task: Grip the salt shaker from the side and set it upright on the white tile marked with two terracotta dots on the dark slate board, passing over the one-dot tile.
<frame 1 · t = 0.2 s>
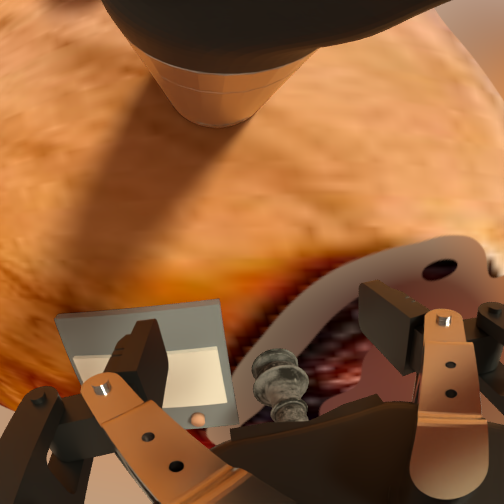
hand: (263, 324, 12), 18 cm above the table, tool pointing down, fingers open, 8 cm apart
salt shaker: (274, 366, 34), on the table
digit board: (150, 374, 32), on the table
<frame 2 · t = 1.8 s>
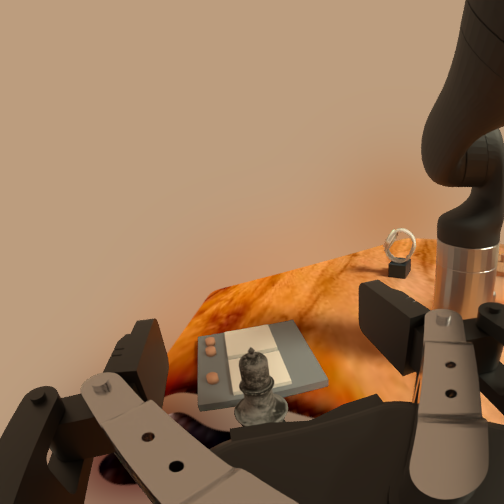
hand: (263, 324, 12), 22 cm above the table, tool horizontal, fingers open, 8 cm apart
salt shaker: (264, 430, 32), on the table
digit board: (254, 363, 45), on the table
lidded jar: (497, 299, 48), on the table
watch: (399, 274, 70), on the table
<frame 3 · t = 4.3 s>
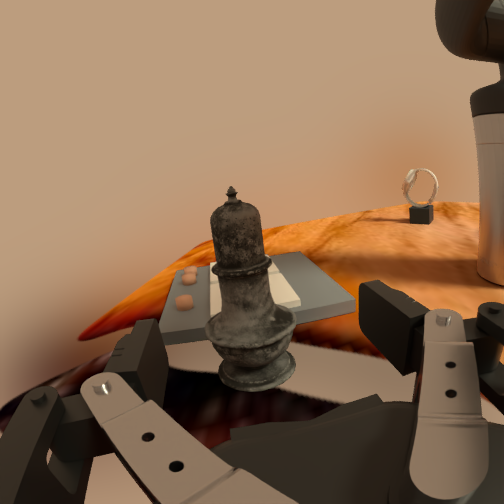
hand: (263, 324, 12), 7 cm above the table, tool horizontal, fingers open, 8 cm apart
salt shaker: (257, 369, 20), on the table
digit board: (247, 292, 34), on the table
watch: (421, 222, 58), on the table
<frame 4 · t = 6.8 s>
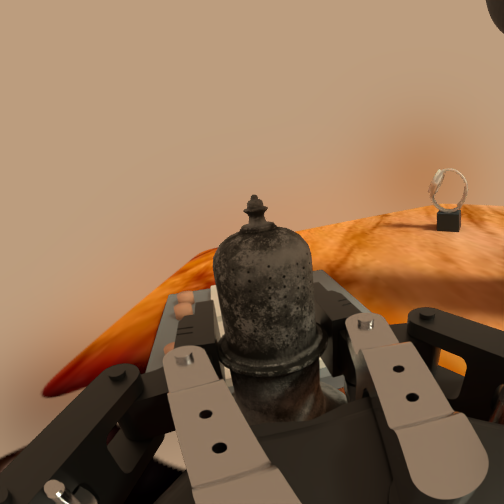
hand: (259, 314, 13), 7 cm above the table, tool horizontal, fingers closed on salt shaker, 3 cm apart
salt shaker: (286, 471, 12), on the table, touching gripper
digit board: (261, 331, 25), on the table
watch: (448, 229, 49), on the table
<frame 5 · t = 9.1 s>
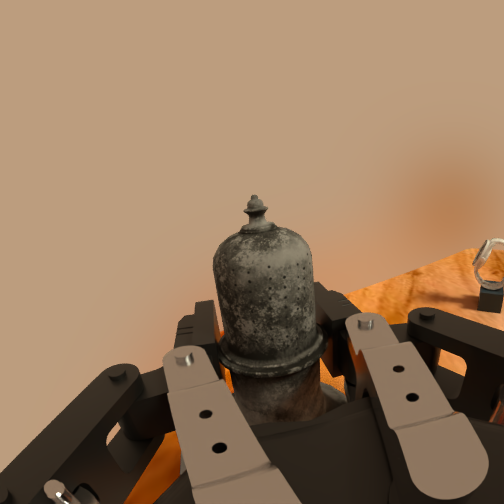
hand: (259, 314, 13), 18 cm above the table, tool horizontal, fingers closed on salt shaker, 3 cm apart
salt shaker: (286, 472, 12), point 11 cm above the table, touching gripper
watch: (488, 305, 40), on the table
when the fingers open (9 cm above the table, at t = 11.4 s): salt shaker stays where it is, resting on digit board.
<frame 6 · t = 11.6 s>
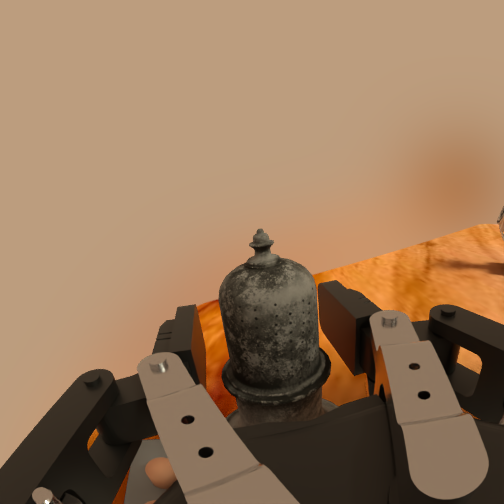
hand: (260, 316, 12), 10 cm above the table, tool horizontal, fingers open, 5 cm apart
salt shaker: (288, 483, 12), point 2 cm above the table, touching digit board
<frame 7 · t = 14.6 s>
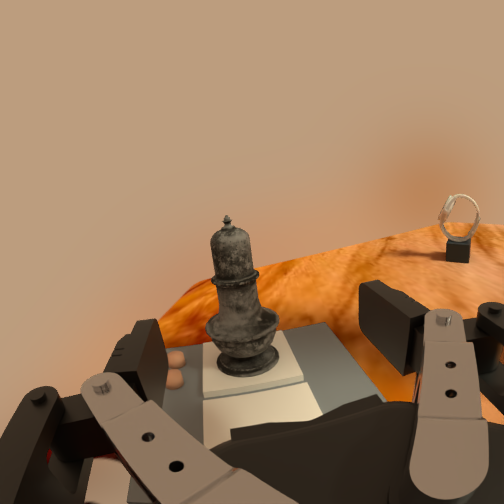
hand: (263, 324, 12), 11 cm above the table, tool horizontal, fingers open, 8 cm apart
salt shaker: (248, 360, 25), point 2 cm above the table, touching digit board
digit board: (257, 405, 22), on the table
watch: (457, 258, 46), on the table
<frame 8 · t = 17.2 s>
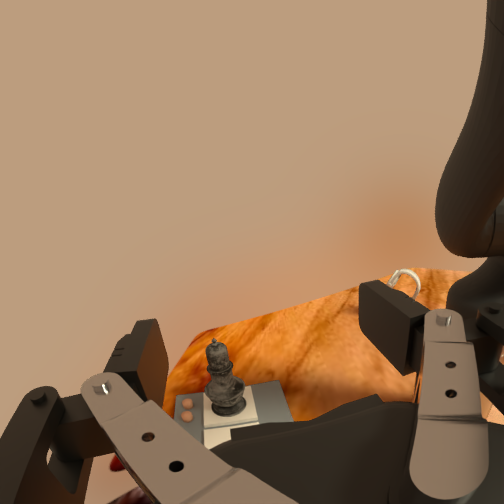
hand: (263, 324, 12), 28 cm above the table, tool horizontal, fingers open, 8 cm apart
salt shaker: (229, 406, 42), point 2 cm above the table, touching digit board
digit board: (233, 432, 39), on the table
watch: (400, 317, 63), on the table
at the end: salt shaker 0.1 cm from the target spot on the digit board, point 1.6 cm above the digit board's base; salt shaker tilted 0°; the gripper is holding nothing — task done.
